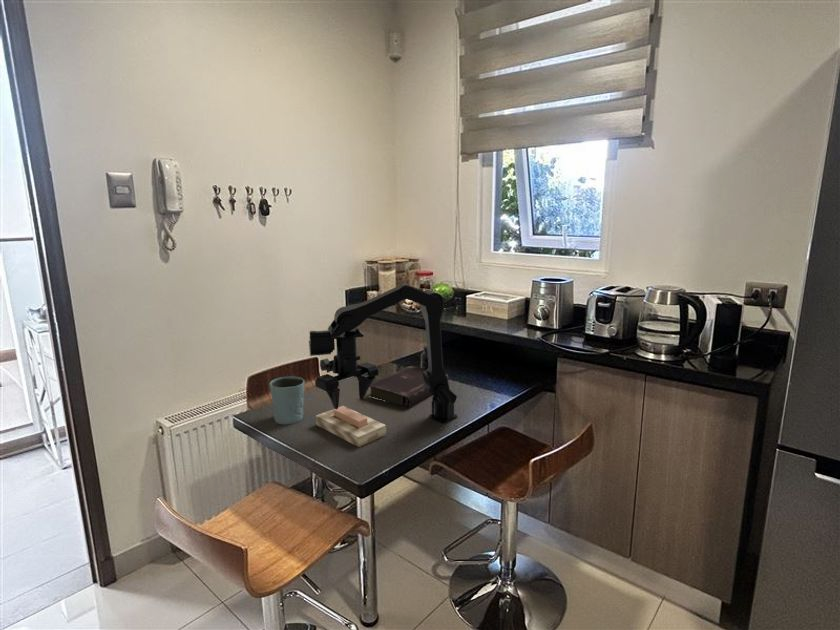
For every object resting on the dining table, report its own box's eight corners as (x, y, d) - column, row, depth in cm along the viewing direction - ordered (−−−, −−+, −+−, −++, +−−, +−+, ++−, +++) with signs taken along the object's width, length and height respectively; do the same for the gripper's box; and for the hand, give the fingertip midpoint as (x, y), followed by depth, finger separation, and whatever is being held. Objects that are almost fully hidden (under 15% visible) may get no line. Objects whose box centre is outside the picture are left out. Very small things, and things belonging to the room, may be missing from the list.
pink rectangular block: (367, 434, 141) (367, 418, 140) (359, 437, 139) (358, 421, 138) (342, 421, 149) (341, 406, 148) (334, 425, 147) (333, 409, 146)
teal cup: (266, 418, 152) (263, 382, 149) (294, 408, 159) (292, 373, 156) (284, 428, 145) (281, 390, 142) (313, 417, 152) (310, 381, 150)
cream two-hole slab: (386, 434, 141) (385, 425, 140) (358, 447, 134) (358, 436, 133) (343, 414, 154) (343, 405, 154) (316, 424, 147) (316, 415, 147)
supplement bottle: (441, 378, 185) (441, 347, 183) (424, 380, 183) (423, 349, 181) (435, 372, 192) (435, 343, 189) (418, 374, 190) (418, 344, 187)
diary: (449, 387, 179) (449, 374, 178) (409, 411, 158) (409, 396, 157) (407, 376, 189) (407, 364, 188) (365, 398, 168) (364, 384, 167)
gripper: (355, 340, 151) (356, 388, 154) (302, 353, 138) (305, 405, 141) (379, 347, 143) (380, 397, 147) (325, 362, 130) (328, 417, 133)
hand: (349, 404), depth 142 cm, fingers open, 9 cm apart
